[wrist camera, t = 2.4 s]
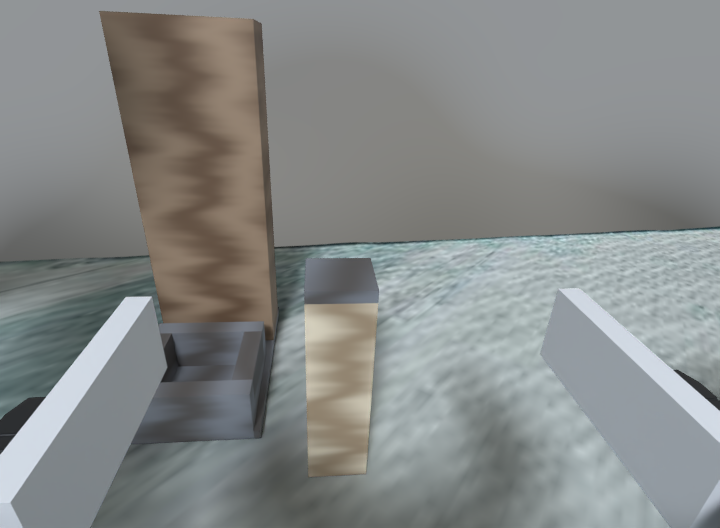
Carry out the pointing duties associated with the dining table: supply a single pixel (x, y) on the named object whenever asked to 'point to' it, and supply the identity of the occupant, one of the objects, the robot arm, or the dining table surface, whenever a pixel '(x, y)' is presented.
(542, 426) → the dining table surface
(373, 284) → the beige wooden tall block
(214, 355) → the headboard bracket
